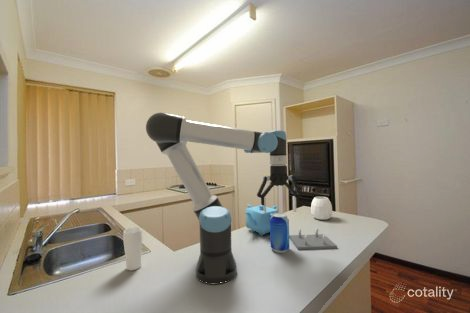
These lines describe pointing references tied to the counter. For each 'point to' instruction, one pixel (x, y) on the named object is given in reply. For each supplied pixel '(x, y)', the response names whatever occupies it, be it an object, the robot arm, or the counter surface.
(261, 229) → the teakettle
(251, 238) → the counter surface
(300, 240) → the pegboard
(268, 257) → the counter surface
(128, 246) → the white cylinder
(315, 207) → the cup
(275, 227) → the beer can
